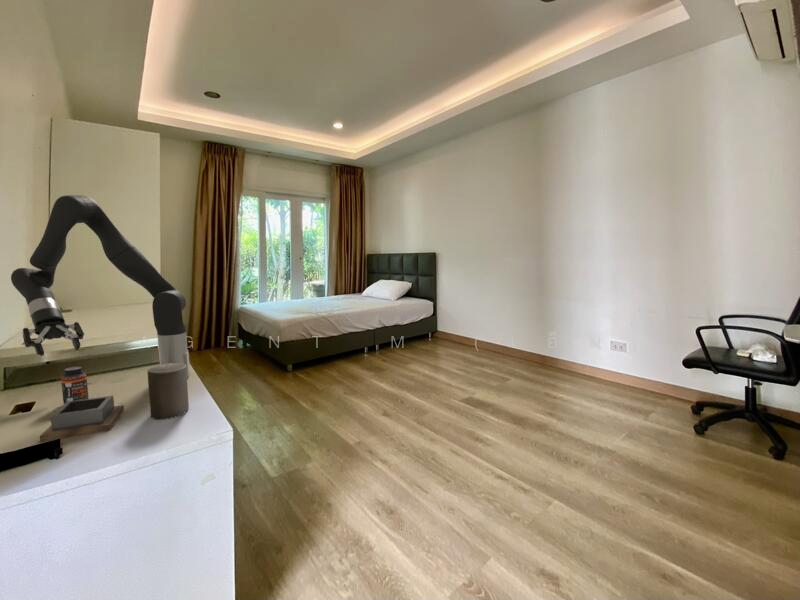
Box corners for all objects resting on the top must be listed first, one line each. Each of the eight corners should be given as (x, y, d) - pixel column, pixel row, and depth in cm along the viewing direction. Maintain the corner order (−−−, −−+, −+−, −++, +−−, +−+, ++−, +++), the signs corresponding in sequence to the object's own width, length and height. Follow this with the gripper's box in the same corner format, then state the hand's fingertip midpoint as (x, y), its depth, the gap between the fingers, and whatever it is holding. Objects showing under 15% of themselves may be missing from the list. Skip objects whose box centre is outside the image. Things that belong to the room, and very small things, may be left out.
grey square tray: (114, 408, 105) (113, 395, 104) (103, 423, 96) (101, 408, 95) (68, 415, 100) (67, 401, 100) (52, 431, 91) (50, 416, 91)
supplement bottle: (73, 407, 109) (69, 371, 108) (58, 406, 110) (54, 370, 109) (94, 400, 115) (90, 366, 114) (79, 398, 116) (75, 365, 115)
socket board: (124, 409, 107) (123, 405, 107) (110, 429, 95) (109, 424, 95) (63, 418, 101) (63, 413, 101) (40, 441, 89) (39, 436, 89)
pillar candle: (148, 422, 99) (144, 370, 98) (153, 409, 108) (149, 361, 106) (188, 415, 104) (185, 365, 102) (190, 403, 112) (187, 357, 111)
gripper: (17, 309, 114) (31, 349, 109) (75, 304, 126) (90, 340, 121) (15, 324, 118) (28, 363, 113) (72, 318, 130) (86, 353, 125)
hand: (60, 351), depth 117 cm, fingers open, 8 cm apart
